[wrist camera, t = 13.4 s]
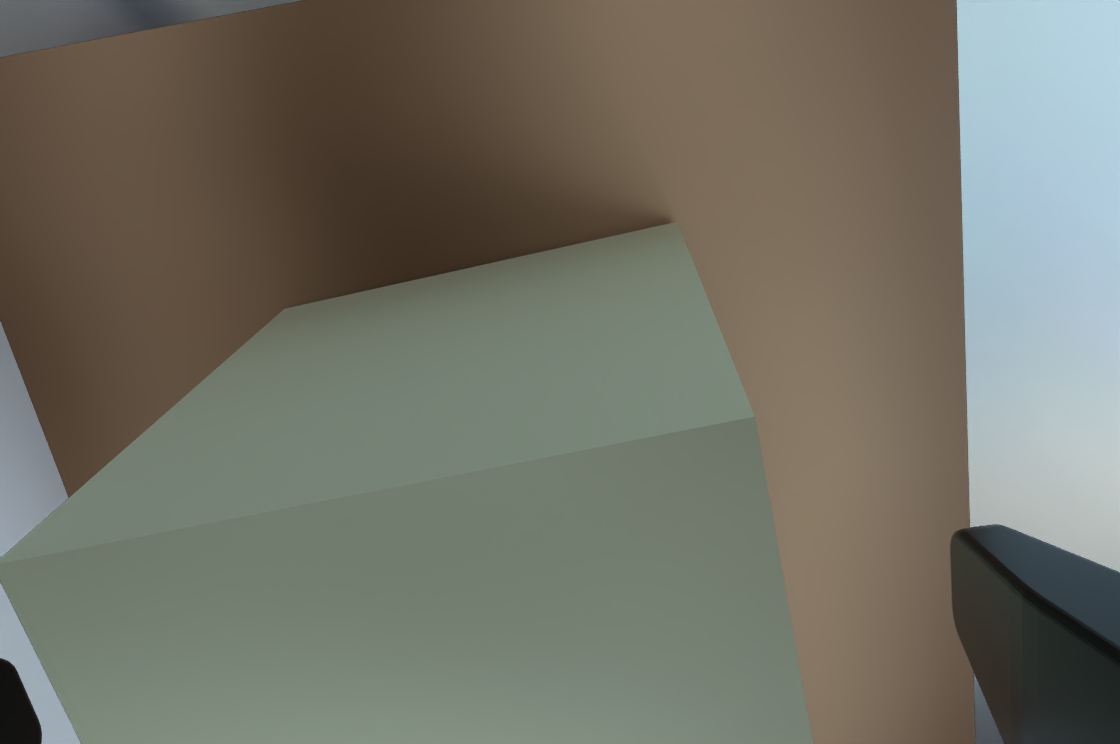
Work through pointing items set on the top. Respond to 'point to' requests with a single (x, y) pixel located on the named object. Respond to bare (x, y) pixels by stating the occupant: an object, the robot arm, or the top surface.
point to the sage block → (437, 528)
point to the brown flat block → (544, 245)
